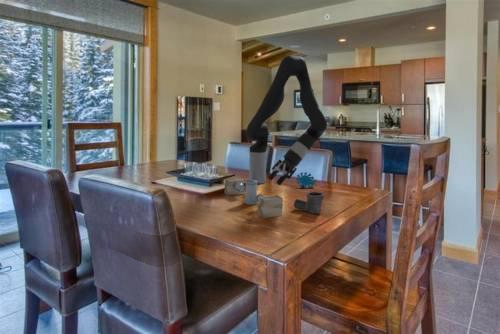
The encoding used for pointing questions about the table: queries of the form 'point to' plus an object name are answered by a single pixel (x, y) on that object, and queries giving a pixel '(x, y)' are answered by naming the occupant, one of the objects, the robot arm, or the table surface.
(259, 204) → the block
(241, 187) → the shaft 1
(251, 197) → the coupling
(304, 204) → the pipe
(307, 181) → the blue spiky round piece
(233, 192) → the block
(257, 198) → the shaft
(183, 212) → the table surface
